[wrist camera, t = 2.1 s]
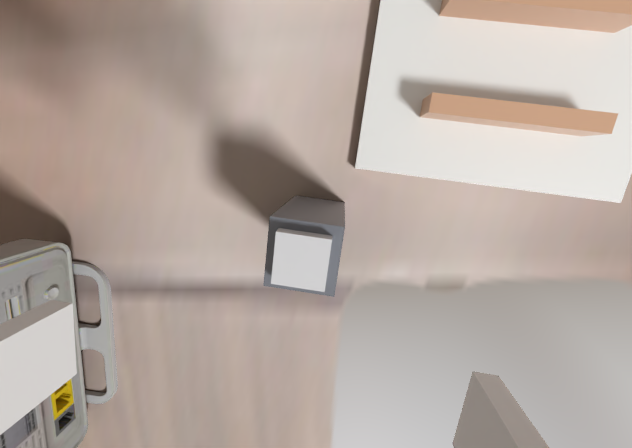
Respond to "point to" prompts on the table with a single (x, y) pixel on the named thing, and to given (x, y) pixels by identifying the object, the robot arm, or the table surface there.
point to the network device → (58, 284)
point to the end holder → (503, 94)
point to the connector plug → (305, 245)
